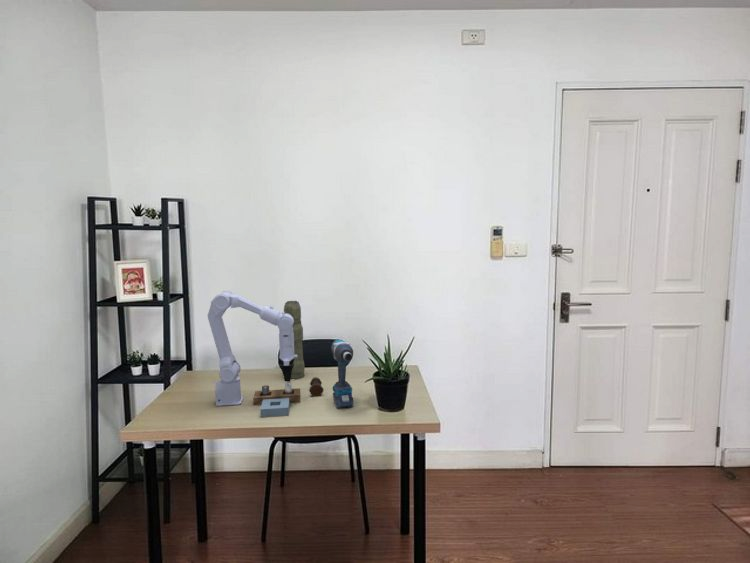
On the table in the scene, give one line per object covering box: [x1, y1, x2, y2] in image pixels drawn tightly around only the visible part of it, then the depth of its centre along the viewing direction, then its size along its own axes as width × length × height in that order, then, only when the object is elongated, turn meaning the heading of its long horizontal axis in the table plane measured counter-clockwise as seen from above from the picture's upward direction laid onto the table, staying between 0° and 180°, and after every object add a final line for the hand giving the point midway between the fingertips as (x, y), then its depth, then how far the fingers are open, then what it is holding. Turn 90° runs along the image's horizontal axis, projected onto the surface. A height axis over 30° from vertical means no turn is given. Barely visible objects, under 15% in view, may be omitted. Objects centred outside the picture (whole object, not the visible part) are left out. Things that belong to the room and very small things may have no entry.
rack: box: [252, 388, 301, 406], centre depth 196 cm, size 18×8×3 cm, turn 98°
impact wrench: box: [330, 338, 354, 409], centre depth 188 cm, size 8×23×25 cm, turn 16°
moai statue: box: [283, 300, 306, 381], centre depth 224 cm, size 9×12×35 cm
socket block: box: [259, 398, 291, 418], centre depth 185 cm, size 10×10×3 cm
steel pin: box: [284, 381, 293, 394], centre depth 196 cm, size 3×3×7 cm
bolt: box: [308, 376, 324, 398], centre depth 207 cm, size 6×5×15 cm
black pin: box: [261, 384, 270, 396], centre depth 195 cm, size 3×3×6 cm
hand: (287, 378), depth 196 cm, fingers open, 7 cm apart
